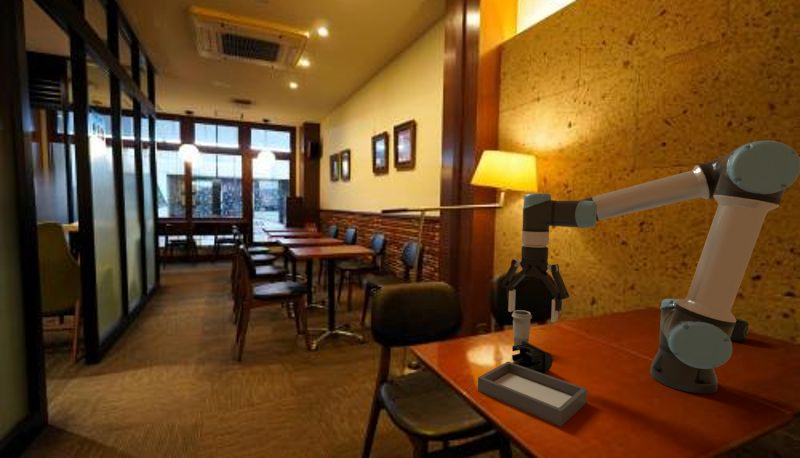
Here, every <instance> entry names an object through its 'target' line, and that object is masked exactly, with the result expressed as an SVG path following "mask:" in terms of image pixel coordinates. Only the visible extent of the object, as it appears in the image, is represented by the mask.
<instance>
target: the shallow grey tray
mask: <svg viewBox="0 0 800 458" xmlns="http://www.w3.org/2000/svg"><path fill="white" fill-rule="evenodd" d="M477 392H480V393H482V394H485V395H487V396H489V397H492V398H494V399H496V400H498V401H500V402H502V403H505V404H507V405H509V406H511V407H512V406H513V407H514V408H516V409H519V410H521V411H523V412H526V413H528V414H530V415H532V416H534V417H537V418H539V419H541V420H544V421H546V422H549V423H550V424H553V425H555V426H558V427H559V428H561V427H563V426H564V424H566V422H568V421H569V420H570V419H572V417H573V416H574V415H575V414H576V413H577V412H579V410H580V409H582V408H583V407H584V406H585V405H586V404H587V400H588V399H587V398H588V395H587V394H588V389H587V388H585V387H583V386H580V385H578V384H574V383H572V382H568V381H566V380H563V379H560V378H557V377H554V376H551V375H548V374H546V373H545V374H543V373H540V372H537V371H534V370H531V369H528V368H525V367H523V366H520V365H517V364H514V363H513V362H511V361H506V362H505V363H502V364H500V365H499V366H497V367H495V368H493V369H491V370H489V371H488V372H486V373H484V374H482V375H480V376H478V377H477Z"/></svg>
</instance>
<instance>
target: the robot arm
mask: <svg viewBox="0 0 800 458" xmlns="http://www.w3.org/2000/svg"><path fill="white" fill-rule="evenodd" d="M799 175H800V156H799V154H798V153H797V152H796V151H795V149H793V147H791V146H789V145H788V144H786V143H783V142H780V141H775V140H758V141H752V142H748V143H746V144H743V145H741V146H739V147H737V148H735V149H734V150H731V151H729V152H727V153H726V154H724V155H722V156H720V157H717V158H715V159H711V160H710V161H707V162H705V163H700V164H697V165H695V166H694V167H693V169H692V170H689V171H684V172H681V173H677V174H673V175H670V176H666V177H665V176H664V177H663V178H662V177H661V178H659V179H654V180H651V181H647V182H643V183H640V184H639V183H638V184H636V185H632V186H627V187H625V188H620V189H617V190H614V191H610V192H606V193H602V194H598V195H595V196H591V197H587V198H583V199H579V200H554V199H552V196H551V194H550V193H539V192H538V193H537V192H536V193H534V192H533V193H531V192H530V193H526V194H525V195H524V198H523V207H522V229H521V231H522V232H521V244H522V246H521V250H520V253H521V254H520V256H521V257H520V258H521V260H519V259H518V258H514V259H511V262H510V266H509V269H508V270H507V273H506V275H505V277H504V278H503V280H502V282H501V284H500V286H501V288H504V289H506V290H505V291H506V300H507V301H508V304H507V305H508V306H507V308H508V309H507V311H508V312H510V313H511V312H512V313H513V312H514V311H516V292H517V291H516V289H515V287H516V286H517V285H518V284H520V282H521V281H522V280H523V279H524V278H525V277H530V278H531V277H533V278H535V279H536V278H537V279H540V280H541V281H542V282H543V284H544V285H545V286H546V288H547V289H548V290H549V292H550V293H551V295H552V297H553V299H551V315H550V316H551V317H550V318H551V319H550V322H551V323H556V322H558V321H559V312H560V311H561V310H562V309H563V308H562V304H563V303H562V301H563V300H566V299H568V298H570V294H569V292H568V289H567V287H566V285H565V282H564V280H563V277H562V275H561V273H560V266H559V264H557V263H555V264H549V261H548V260H549V247H548V245H549V244H550V242H549V241H550V228H551V227H561V228H562V227H565V228H580V229H589V228H590V229H591V228H595V226H596V224H597V222H599V221H602V220H606V219H608V220H609V219H611V218H612V219H613V218H617V217H620V216H624V215H628V214H634V213H637V212H642V211H646V210H650V209H655V208H659V207H660V208H661V207H665V206H667V205H671V204H677V203H680V202H685V201H689V200H693V199H694V200H695V199H698V198H702V199H704V200H711V199H714V200H715V201H716V203H717V208H716V211H715V213H714V217H713V219H712V222H711V226H710V228H709V231H708V235H707V237H706V240H705V243H704V246H703V249H702V251H701V254H700V257H699V260H698V263H697V266H696V269H695V271H694V275H693V278H692V281H691V283H690V286H689V289H688V292H687V294H686V297H685V298H682V299H679V298H665V299H662V301H661V306H660V307H659V308H660V309H659V310H660V324H659V340H658V341H659V345H658V350H657V352H656V353H655V356H654V358H653V360H652V363H651V365H650V372H649V373H650V376H651V377H652V379H654V380H655V381H657V382H659V383H660V384H662V385H664V386H666V387H669V388H672V389H675V390H679V391H682V392H687V393H692V394H698V395H699V394H701V395H707V394H714V393H716V392H717V391H718V388H719V387H718V386H719V380H718V377H717V373H716V372H715V371H716V370H715V368H719V367H721V366H722V365H723V366H724V365H725V364H726V363H727V362H728V361H729V360H730V358H731V356H732V354H733V341H731V340H730V337H731V334H732V331H733V328H734V326H735V323H736V319H735V316H734V314H733V313H732V309H733V305H734V303H735V300H736V297H737V295H738V292H739V289H740V286H741V283H742V281H743V279H744V276H745V273H746V270H747V267H748V265H749V263H750V259H751V256H752V254H753V252H754V248H755V246H756V243H757V241H758V238H759V235H760V232H761V229H762V227H763V224H764V222H765V220H766V219H765V218H766V216H767V214H768V213H770V212H771V211H773V210H775V209H777V208H779V207H780V205H781V202H782V200H783V197H784V194H785V192H786V189H788V188H789V187H791V186H792V185H793V183H795V181H796V180H797V179H798V178H799ZM519 267H521V270H520V271H519V272H518V274H517V275H516V276H515V277H514V275H515V274H516V272H517V269H518V268H519ZM548 270H549V272H550V273H551V277H552V278H553V280H552V279H551V278H550V275H549V274H548ZM513 277H514V278H513ZM553 281H554V282H553Z"/></svg>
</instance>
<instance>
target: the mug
mask: <svg viewBox="0 0 800 458" xmlns="http://www.w3.org/2000/svg"><path fill="white" fill-rule="evenodd" d="M735 319H736V323H735V326H734V328H733V331H732V334H731V337H730V340H731V342H743V341H746V340H747V339H748V337H749V322H748V321H746V320H744V319H740V318H735Z"/></svg>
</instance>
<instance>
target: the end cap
mask: <svg viewBox="0 0 800 458" xmlns="http://www.w3.org/2000/svg"><path fill="white" fill-rule="evenodd" d="M511 349H512V350H511V351H512V352H517V351H519V353H514V354H512V355H511V357H512V358H511V359H512V363H514V364H517V365H520V366H523V367H525V368H528V369H531V370H534V371H537V372H540V373H543V374H546V373H548V372H549V371H550V369H551V368H552V366H553V361H554V359H553V356H552V354H551V353H549V352H547V351H545V350H543V349H542V348H539V347H537V346H536V345H534V344H531V343H530V342H529V341H528V342H526V341H522V344H521V345H515V346H514V345H512V347H511Z"/></svg>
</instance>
